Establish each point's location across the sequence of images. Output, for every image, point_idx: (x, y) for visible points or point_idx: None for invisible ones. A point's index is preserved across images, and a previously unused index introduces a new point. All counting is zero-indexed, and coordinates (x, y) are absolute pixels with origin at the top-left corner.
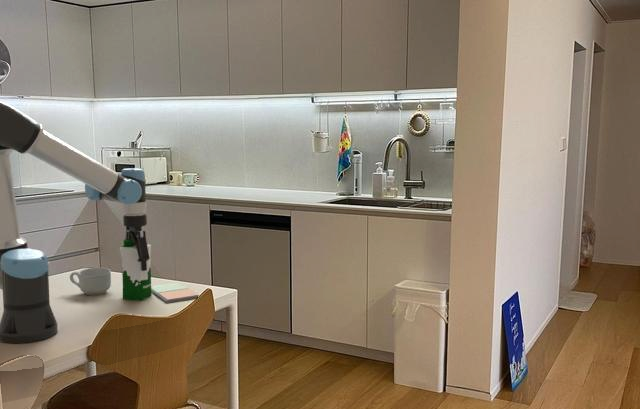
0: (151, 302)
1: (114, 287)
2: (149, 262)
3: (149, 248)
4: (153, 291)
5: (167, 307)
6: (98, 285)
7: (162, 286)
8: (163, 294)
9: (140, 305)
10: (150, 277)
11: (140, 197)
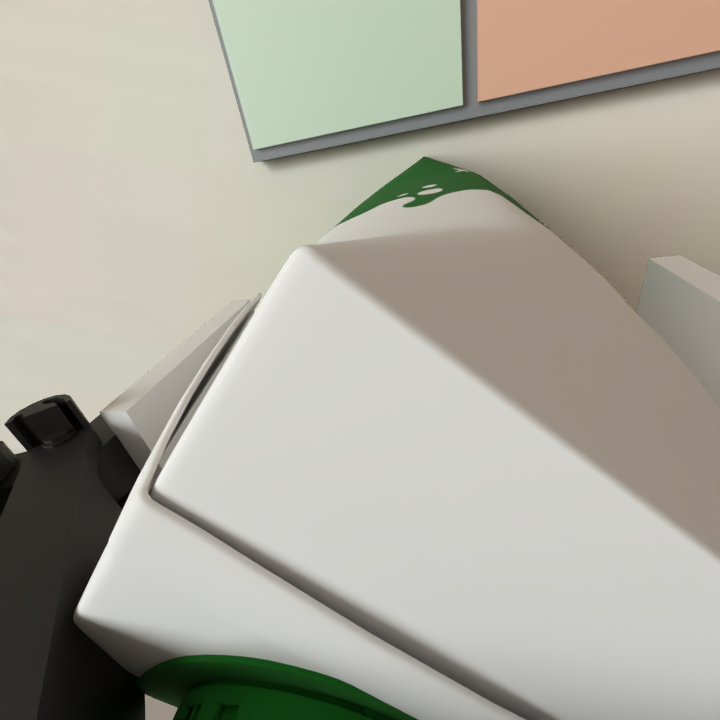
0: (621, 190)
1: (179, 336)
2: (559, 240)
3: (543, 337)
4: (385, 131)
5: None
6: None
7: (276, 17)
8: (557, 53)
9: (640, 277)
10: (495, 187)
11: None
